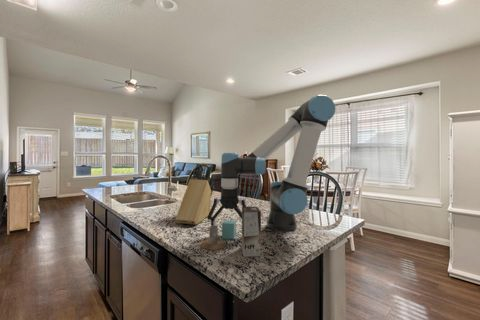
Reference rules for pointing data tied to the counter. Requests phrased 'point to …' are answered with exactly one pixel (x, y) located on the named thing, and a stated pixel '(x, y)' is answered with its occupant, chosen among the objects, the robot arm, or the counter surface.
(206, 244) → the post
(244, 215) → the coffee box
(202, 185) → the knife block
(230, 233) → the teal rectangular block
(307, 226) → the counter surface
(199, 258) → the counter surface
